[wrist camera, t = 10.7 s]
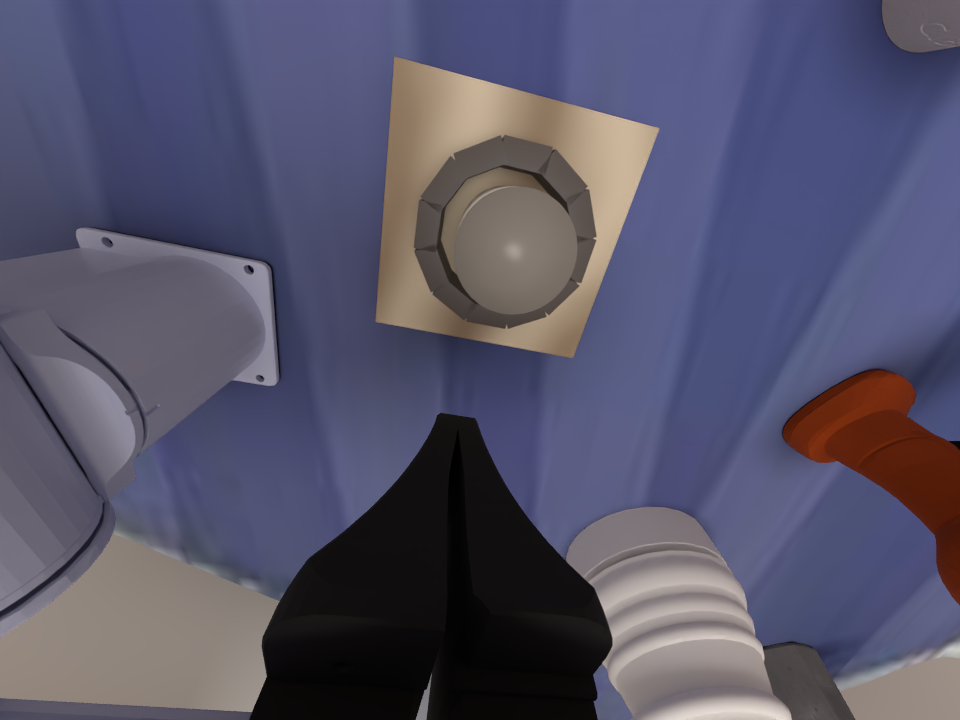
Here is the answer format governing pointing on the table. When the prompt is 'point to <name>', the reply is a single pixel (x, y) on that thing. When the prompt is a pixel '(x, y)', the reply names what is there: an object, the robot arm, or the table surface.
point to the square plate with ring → (486, 164)
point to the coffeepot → (804, 683)
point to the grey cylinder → (514, 249)
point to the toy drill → (888, 454)
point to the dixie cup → (922, 24)
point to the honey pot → (674, 619)
